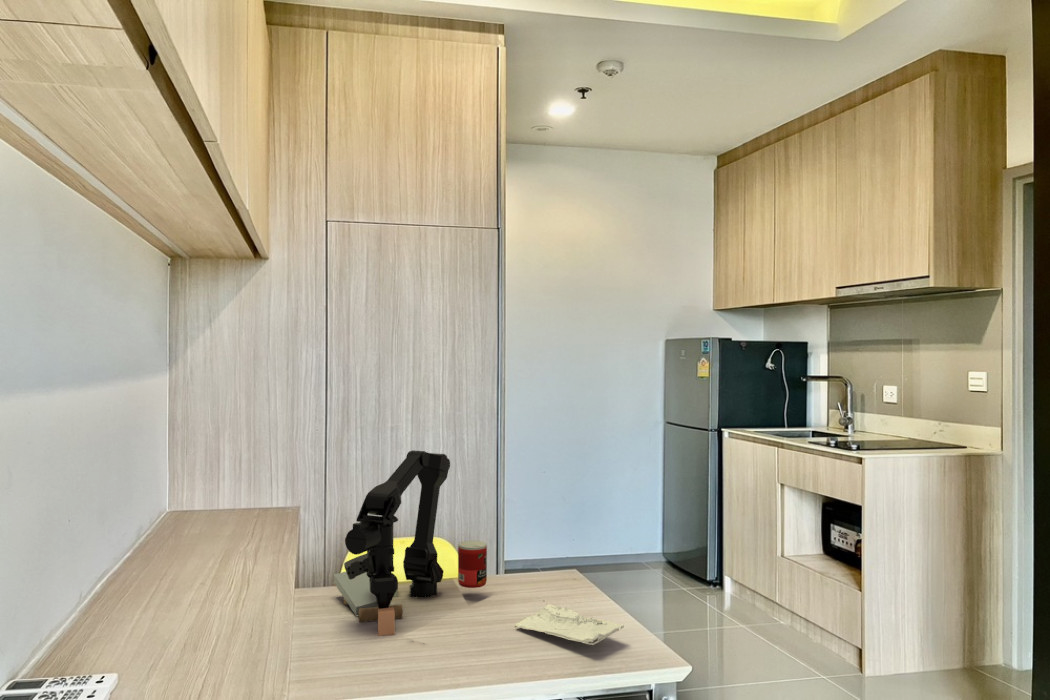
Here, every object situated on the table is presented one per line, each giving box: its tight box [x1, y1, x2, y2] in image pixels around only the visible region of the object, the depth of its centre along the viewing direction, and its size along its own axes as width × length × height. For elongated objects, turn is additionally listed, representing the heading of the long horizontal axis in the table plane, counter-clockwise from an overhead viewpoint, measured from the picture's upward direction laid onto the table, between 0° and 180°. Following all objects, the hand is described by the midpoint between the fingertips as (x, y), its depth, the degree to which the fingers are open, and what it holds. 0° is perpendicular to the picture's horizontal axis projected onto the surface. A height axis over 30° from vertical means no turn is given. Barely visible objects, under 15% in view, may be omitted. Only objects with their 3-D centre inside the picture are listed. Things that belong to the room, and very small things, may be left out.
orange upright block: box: [377, 607, 396, 637], centre depth 161 cm, size 4×2×5 cm
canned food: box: [457, 540, 488, 589], centre depth 196 cm, size 8×8×11 cm
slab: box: [333, 571, 378, 617], centre depth 179 cm, size 8×16×2 cm, turn 34°
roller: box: [358, 604, 403, 623], centre depth 169 cm, size 10×3×3 cm, turn 106°
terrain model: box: [514, 603, 625, 646], centre depth 165 cm, size 17×23×5 cm
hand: (380, 609), depth 169 cm, fingers open, 9 cm apart
